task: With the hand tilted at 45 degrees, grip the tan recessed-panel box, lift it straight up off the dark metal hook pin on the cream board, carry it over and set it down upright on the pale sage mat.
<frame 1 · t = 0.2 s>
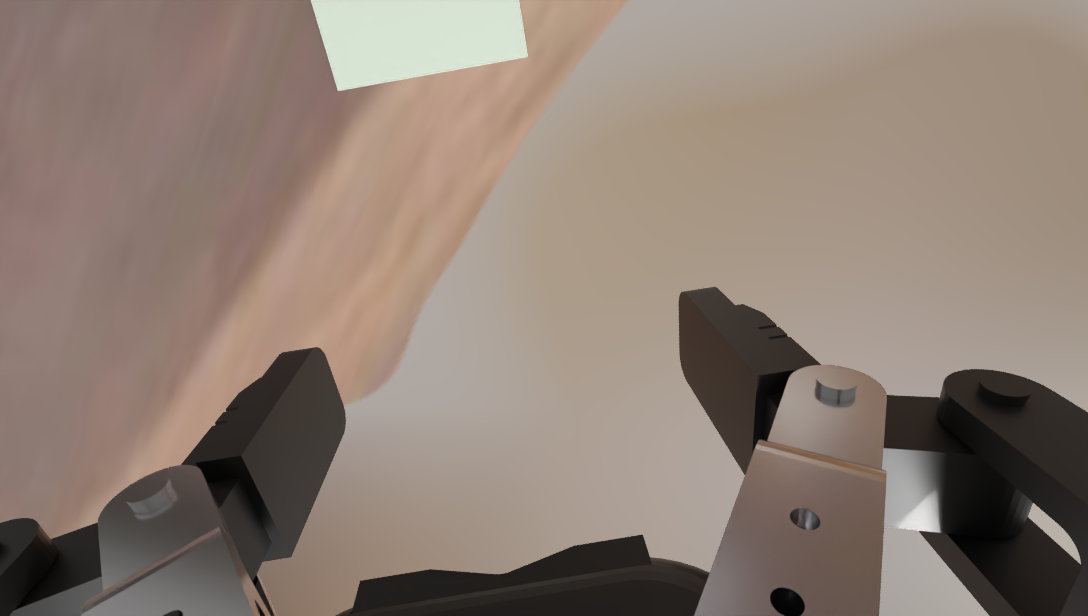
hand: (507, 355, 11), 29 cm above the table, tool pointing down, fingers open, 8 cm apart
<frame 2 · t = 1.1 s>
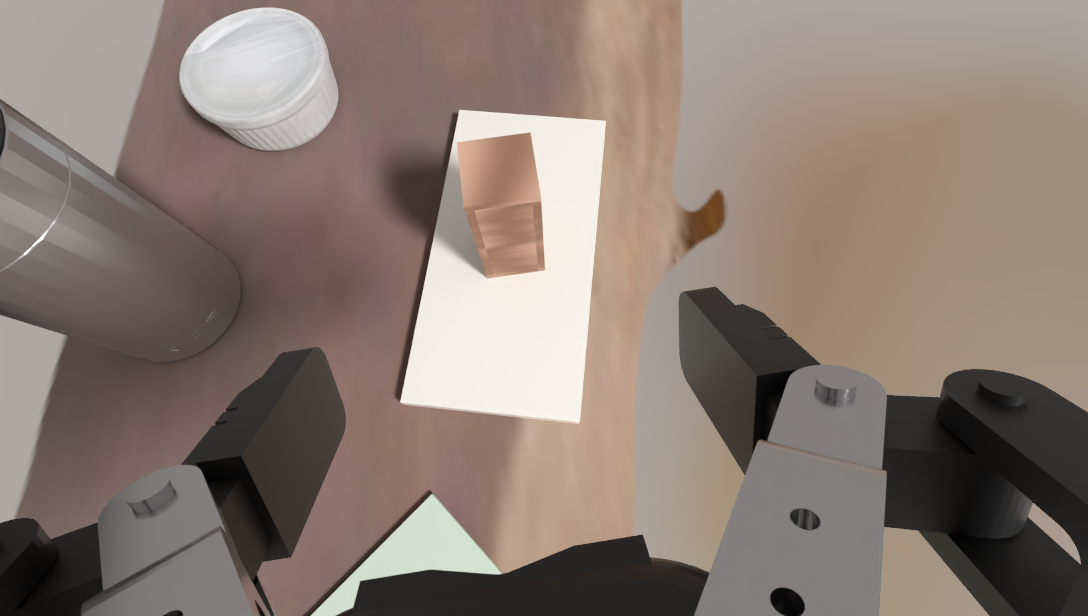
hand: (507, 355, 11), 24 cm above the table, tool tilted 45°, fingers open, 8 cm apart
ramekin: (287, 109, 44), on the table
hook board: (513, 254, 38), on the table
tan recessed-panel box: (512, 248, 38), point 1 cm above the table, touching hook board
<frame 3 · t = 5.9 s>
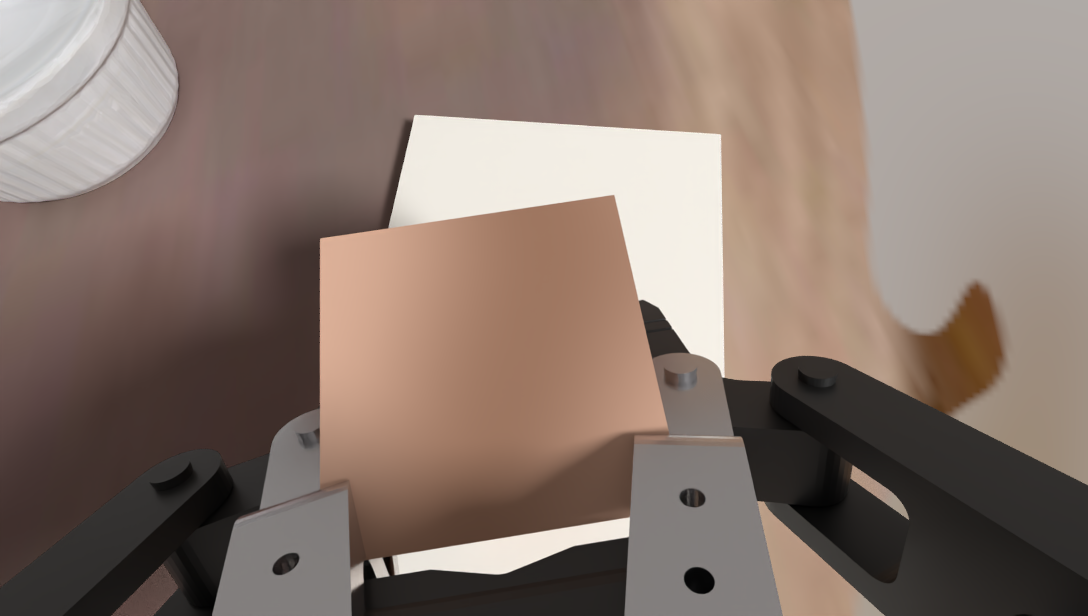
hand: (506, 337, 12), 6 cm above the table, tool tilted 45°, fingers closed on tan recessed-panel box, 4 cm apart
ramekin: (83, 118, 22), on the table
hook board: (531, 441, 17), on the table
tan recessed-panel box: (529, 437, 16), point 1 cm above the table, touching gripper, hook board
when the fingers open (6 cm above the table, at t = 12.8 s): tan recessed-panel box drops 1 cm, resting on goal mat.
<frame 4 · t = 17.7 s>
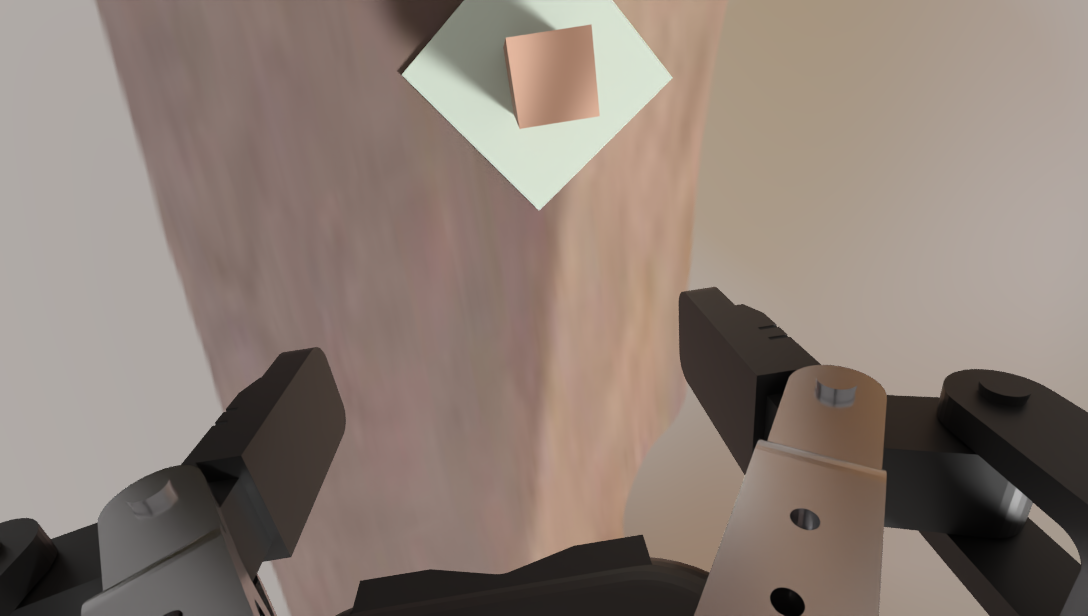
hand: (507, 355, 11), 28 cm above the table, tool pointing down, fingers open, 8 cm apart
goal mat: (539, 76, 35), on the table
tan recessed-panel box: (539, 77, 34), resting on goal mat
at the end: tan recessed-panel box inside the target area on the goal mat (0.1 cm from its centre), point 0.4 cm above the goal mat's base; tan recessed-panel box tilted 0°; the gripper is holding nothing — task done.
